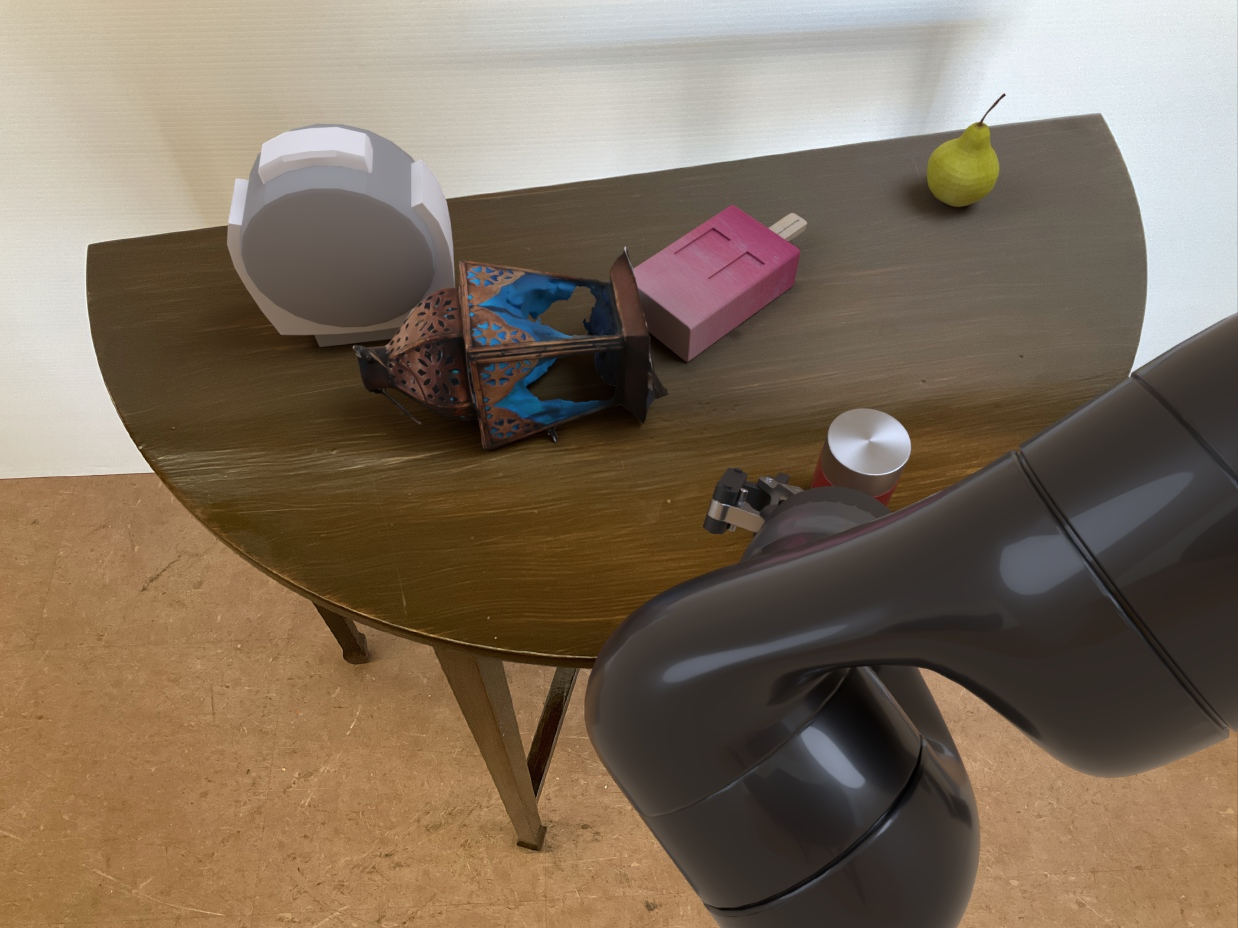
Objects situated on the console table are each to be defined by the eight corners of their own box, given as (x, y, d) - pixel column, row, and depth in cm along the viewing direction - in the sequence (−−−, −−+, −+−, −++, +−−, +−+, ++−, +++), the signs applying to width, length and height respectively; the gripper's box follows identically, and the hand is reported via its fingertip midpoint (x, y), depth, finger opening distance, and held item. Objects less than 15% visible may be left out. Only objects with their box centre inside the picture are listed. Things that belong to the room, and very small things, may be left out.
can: (895, 516, 70) (930, 446, 62) (842, 557, 68) (871, 490, 60) (841, 467, 73) (867, 394, 64) (789, 505, 71) (809, 435, 62)
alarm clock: (466, 280, 86) (424, 97, 69) (469, 343, 81) (425, 162, 65) (285, 300, 85) (198, 119, 68) (278, 365, 80) (182, 188, 63)
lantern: (642, 409, 84) (385, 444, 81) (626, 240, 80) (353, 270, 77) (681, 447, 69) (365, 492, 65) (664, 240, 65) (324, 277, 61)
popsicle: (838, 224, 83) (690, 328, 75) (829, 261, 87) (687, 364, 79) (767, 179, 86) (620, 274, 79) (762, 216, 90) (621, 310, 83)
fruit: (932, 225, 89) (969, 123, 79) (908, 183, 93) (940, 81, 83) (994, 215, 90) (1039, 113, 80) (968, 174, 94) (1007, 72, 84)
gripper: (1025, 568, 35) (986, 495, 50) (699, 453, 38) (755, 418, 54) (957, 725, 37) (939, 609, 52) (651, 602, 40) (719, 527, 55)
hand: (845, 512), depth 53 cm, fingers open, 8 cm apart
